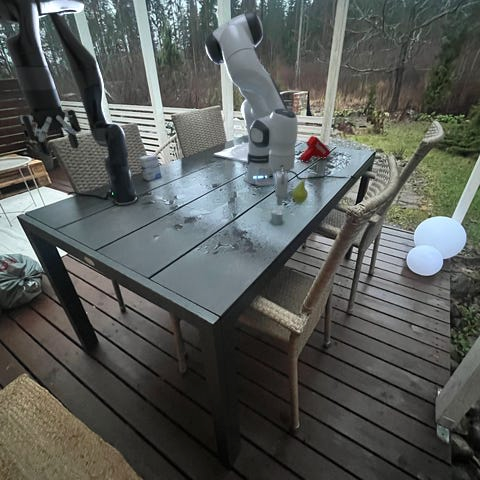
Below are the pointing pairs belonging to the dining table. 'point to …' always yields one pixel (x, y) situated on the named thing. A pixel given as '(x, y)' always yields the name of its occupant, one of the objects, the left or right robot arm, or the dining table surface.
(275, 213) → the tin
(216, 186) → the dining table surface
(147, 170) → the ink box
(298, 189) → the fruit
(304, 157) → the toy gun
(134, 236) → the dining table surface
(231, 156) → the relief map
